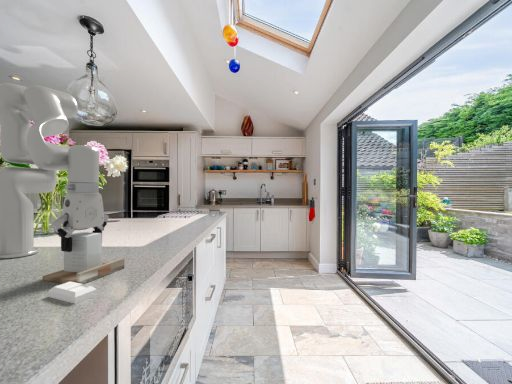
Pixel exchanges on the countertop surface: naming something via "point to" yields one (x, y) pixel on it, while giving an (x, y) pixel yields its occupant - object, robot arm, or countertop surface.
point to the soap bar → (72, 292)
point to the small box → (84, 252)
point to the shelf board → (86, 273)
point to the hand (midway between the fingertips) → (82, 247)
